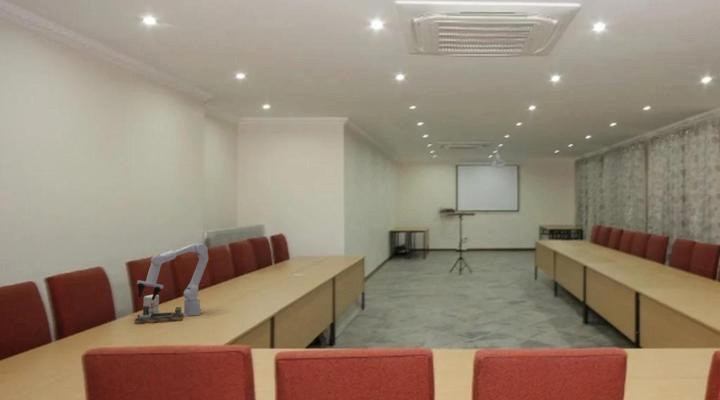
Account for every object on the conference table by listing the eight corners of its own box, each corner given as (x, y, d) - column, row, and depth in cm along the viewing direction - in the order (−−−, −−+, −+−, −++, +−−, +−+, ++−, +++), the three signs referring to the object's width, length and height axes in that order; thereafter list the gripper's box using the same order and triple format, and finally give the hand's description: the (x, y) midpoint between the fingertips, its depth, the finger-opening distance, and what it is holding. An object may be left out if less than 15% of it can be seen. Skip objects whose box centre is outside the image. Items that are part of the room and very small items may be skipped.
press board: (183, 315, 275) (183, 305, 275) (182, 320, 263) (182, 310, 263) (138, 319, 267) (138, 309, 267) (134, 324, 255) (134, 313, 255)
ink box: (150, 316, 274) (150, 297, 274) (142, 316, 275) (142, 296, 275) (159, 313, 282) (159, 294, 282) (152, 313, 283) (152, 294, 283)
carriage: (153, 316, 267) (153, 304, 267) (152, 319, 261) (152, 307, 261) (141, 317, 265) (141, 305, 265) (139, 320, 259) (139, 308, 259)
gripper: (137, 272, 262) (131, 296, 260) (162, 278, 263) (156, 301, 261) (142, 272, 269) (135, 295, 267) (166, 277, 270) (160, 300, 268)
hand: (146, 298), depth 264 cm, fingers open, 7 cm apart
